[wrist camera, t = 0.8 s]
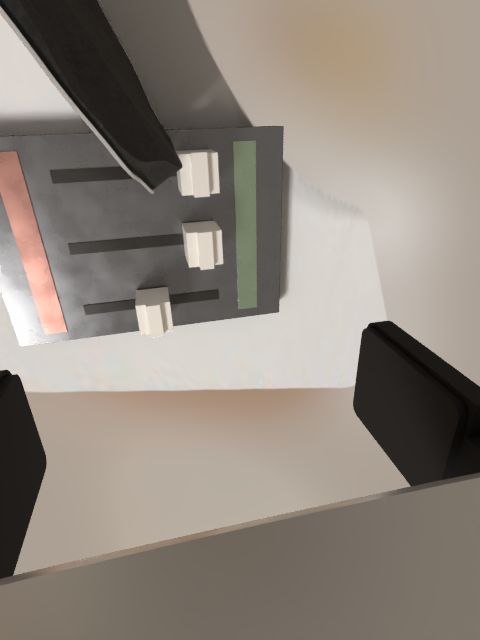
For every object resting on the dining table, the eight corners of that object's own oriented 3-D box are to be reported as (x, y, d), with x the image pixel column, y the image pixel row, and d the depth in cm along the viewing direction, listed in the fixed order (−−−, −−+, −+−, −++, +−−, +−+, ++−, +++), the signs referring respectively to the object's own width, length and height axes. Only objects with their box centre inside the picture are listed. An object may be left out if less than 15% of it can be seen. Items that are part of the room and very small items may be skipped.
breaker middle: (181, 222, 34) (186, 234, 31) (214, 219, 35) (222, 231, 31) (185, 256, 36) (190, 271, 32) (216, 252, 36) (224, 267, 33)
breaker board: (-43, 138, 30) (-55, 139, 28) (276, 126, 34) (283, 126, 33) (25, 336, 38) (20, 347, 36) (273, 304, 43) (279, 312, 41)
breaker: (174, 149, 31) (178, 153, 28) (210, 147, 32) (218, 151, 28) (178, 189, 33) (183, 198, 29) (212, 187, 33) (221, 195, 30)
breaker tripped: (135, 289, 36) (135, 308, 33) (167, 285, 37) (170, 303, 33) (140, 318, 38) (140, 339, 34) (171, 315, 38) (174, 335, 35)
